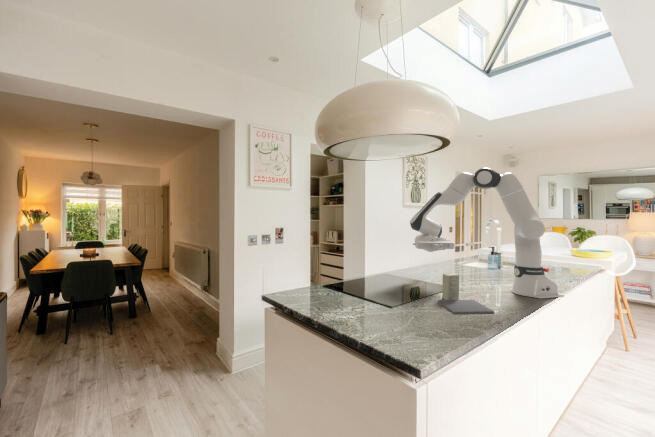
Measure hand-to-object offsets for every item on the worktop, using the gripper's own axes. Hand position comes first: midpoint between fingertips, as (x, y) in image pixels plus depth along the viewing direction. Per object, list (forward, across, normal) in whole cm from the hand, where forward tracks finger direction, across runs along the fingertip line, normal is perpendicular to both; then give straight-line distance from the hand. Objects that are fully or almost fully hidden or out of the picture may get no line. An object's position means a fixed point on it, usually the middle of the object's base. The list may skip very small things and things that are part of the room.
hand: (440, 246), depth 155 cm
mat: (+24, +1, +24) cm, 34 cm away
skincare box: (+12, 0, +24) cm, 27 cm away
